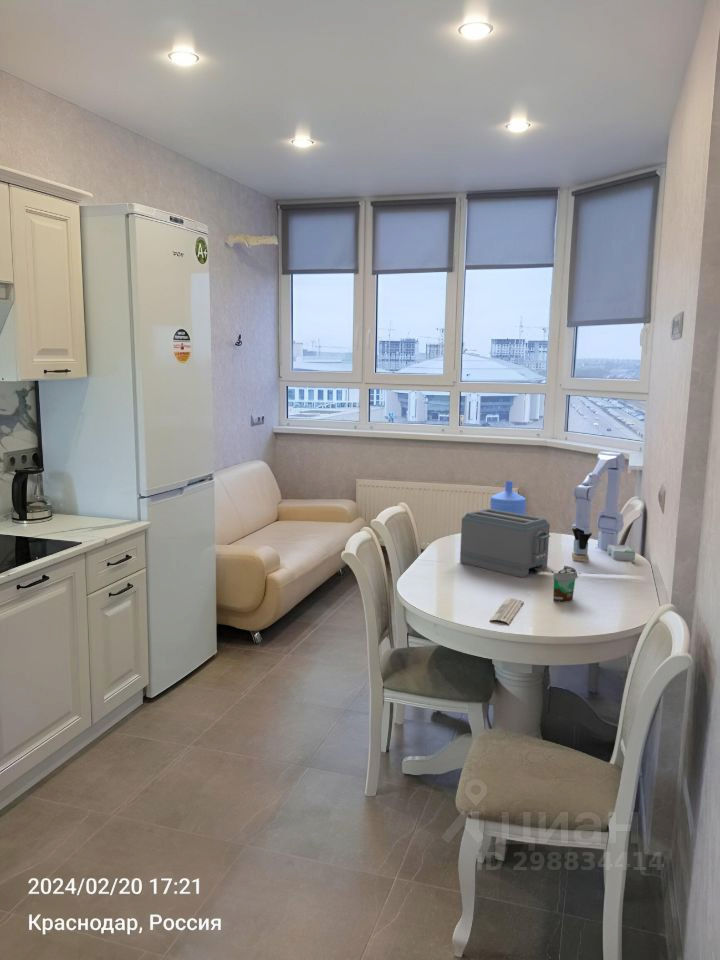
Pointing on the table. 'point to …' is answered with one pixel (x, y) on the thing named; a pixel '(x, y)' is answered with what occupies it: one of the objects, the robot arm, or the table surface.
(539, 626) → the table surface
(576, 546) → the block
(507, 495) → the water jug
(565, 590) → the food container
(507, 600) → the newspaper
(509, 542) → the toaster
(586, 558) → the tower top
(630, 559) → the ink box
